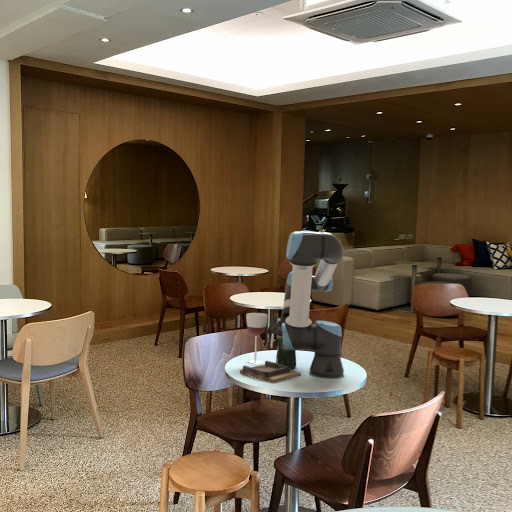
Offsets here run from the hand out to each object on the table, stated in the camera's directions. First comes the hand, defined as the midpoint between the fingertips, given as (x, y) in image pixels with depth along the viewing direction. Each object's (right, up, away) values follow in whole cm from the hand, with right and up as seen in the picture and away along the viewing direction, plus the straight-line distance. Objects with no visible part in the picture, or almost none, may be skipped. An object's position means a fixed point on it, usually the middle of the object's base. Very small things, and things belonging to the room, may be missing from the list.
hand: (285, 347), depth 261 cm
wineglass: (-14, -9, +9) cm, 19 cm away
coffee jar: (0, -9, +3) cm, 10 cm away
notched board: (-8, -10, -12) cm, 17 cm away
